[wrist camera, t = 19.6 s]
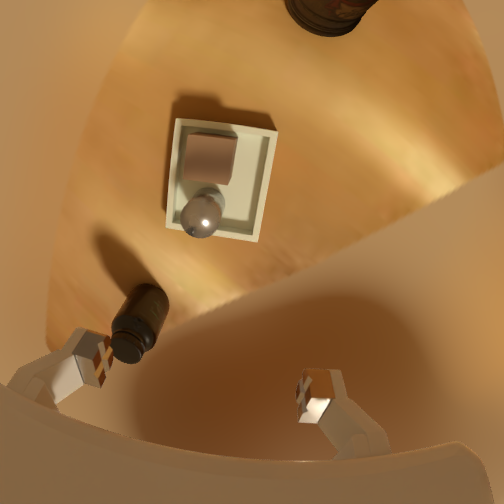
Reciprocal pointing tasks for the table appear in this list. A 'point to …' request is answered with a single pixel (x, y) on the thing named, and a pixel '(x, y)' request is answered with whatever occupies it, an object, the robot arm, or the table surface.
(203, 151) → the walnut block
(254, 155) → the tray
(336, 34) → the container
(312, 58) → the table surface
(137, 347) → the supplement bottle
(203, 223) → the metal cylinder
